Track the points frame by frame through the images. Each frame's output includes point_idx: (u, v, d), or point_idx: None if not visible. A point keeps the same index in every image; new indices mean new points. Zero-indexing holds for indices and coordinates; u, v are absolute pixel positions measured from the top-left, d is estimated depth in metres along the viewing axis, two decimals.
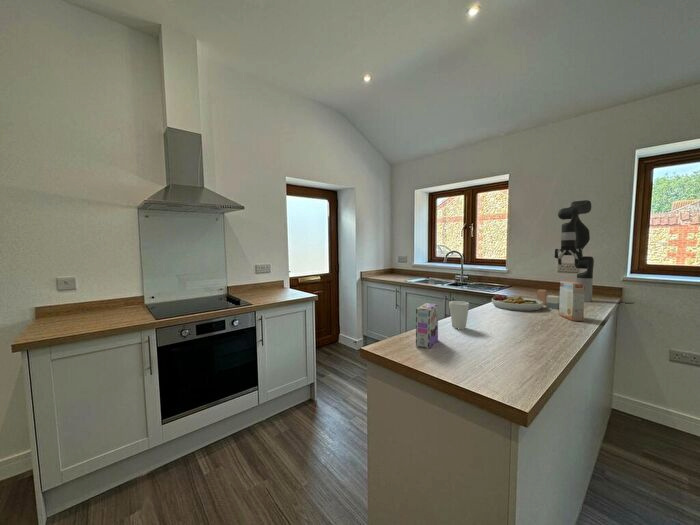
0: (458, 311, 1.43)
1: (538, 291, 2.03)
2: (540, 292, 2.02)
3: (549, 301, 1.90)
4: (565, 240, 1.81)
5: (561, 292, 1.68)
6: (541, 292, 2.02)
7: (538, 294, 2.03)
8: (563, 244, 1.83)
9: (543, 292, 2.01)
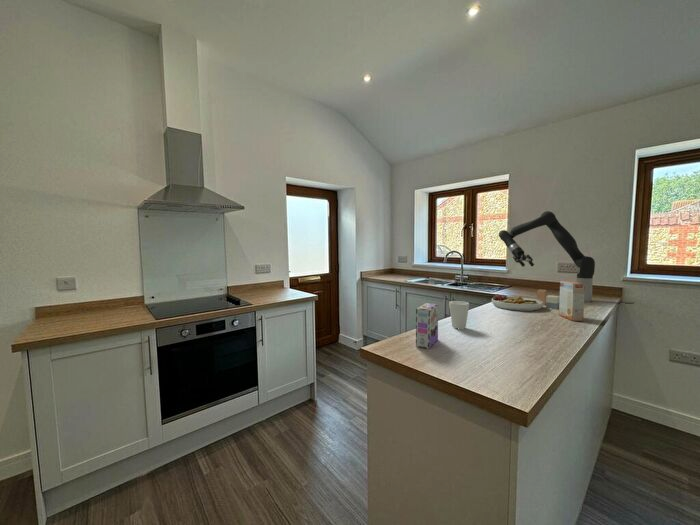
0: (458, 311, 1.43)
1: (538, 291, 2.03)
2: (540, 292, 2.02)
3: (549, 301, 1.90)
4: None
5: (561, 292, 1.68)
6: (541, 292, 2.02)
7: (538, 294, 2.03)
8: None
9: (543, 292, 2.01)
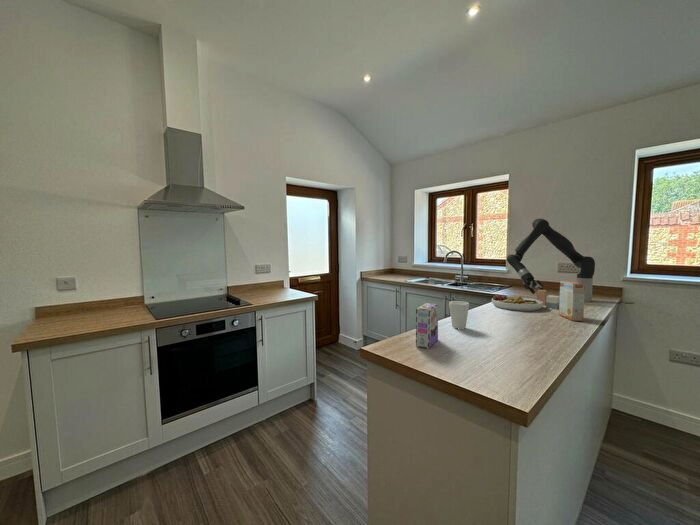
0: (458, 311, 1.43)
1: (538, 291, 2.03)
2: (540, 292, 2.02)
3: (549, 301, 1.90)
4: None
5: (561, 292, 1.68)
6: (541, 292, 2.02)
7: (538, 294, 2.03)
8: None
9: (543, 292, 2.01)
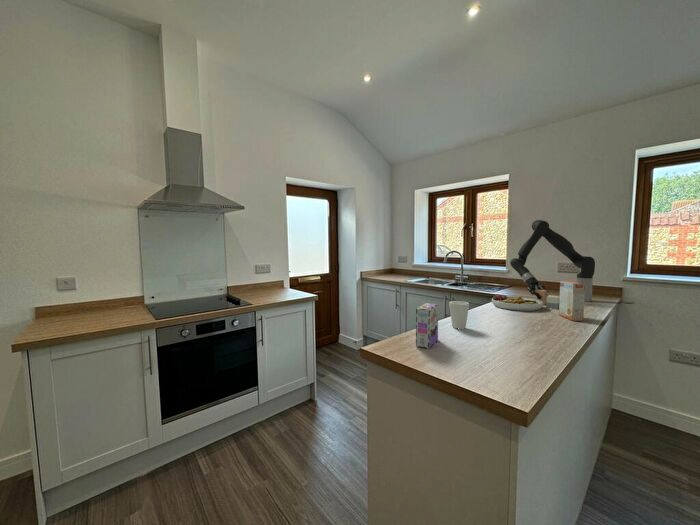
0: (458, 311, 1.43)
1: (538, 291, 2.03)
2: (540, 292, 2.02)
3: (549, 301, 1.90)
4: None
5: (561, 292, 1.68)
6: (541, 292, 2.02)
7: None
8: None
9: (543, 292, 2.01)
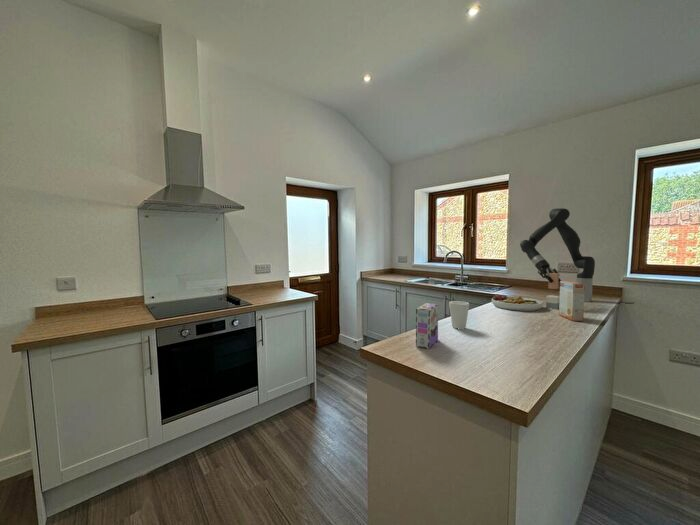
0: (458, 311, 1.43)
1: (550, 274, 1.90)
2: (552, 275, 1.89)
3: (549, 301, 1.90)
4: None
5: (561, 292, 1.68)
6: (553, 275, 1.88)
7: None
8: None
9: (555, 275, 1.87)
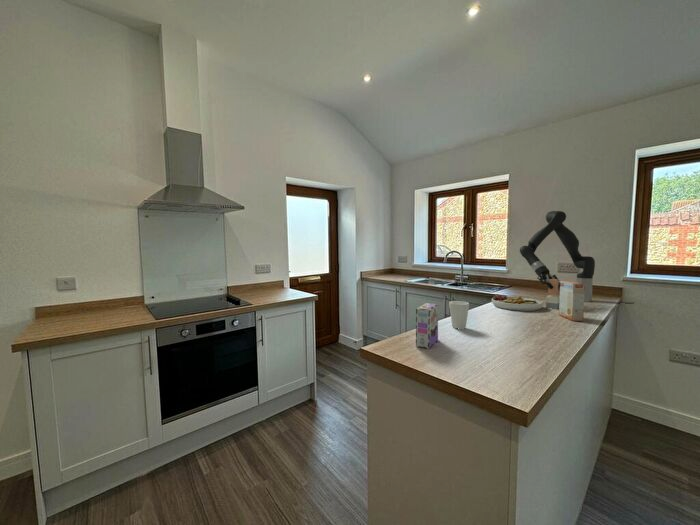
0: (458, 311, 1.43)
1: (549, 280, 1.90)
2: (552, 281, 1.89)
3: (549, 301, 1.90)
4: None
5: (561, 292, 1.68)
6: (553, 281, 1.88)
7: None
8: None
9: (555, 281, 1.88)
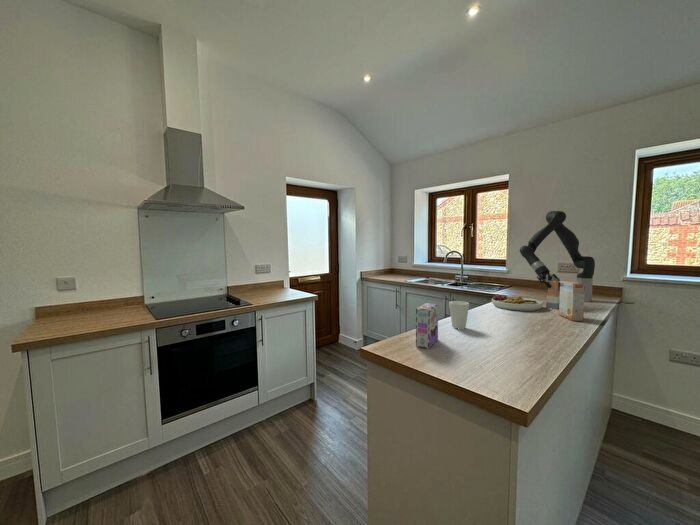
0: (458, 311, 1.43)
1: (549, 282, 1.90)
2: (551, 283, 1.89)
3: (549, 301, 1.90)
4: None
5: (561, 292, 1.68)
6: (552, 283, 1.89)
7: None
8: None
9: (554, 283, 1.88)
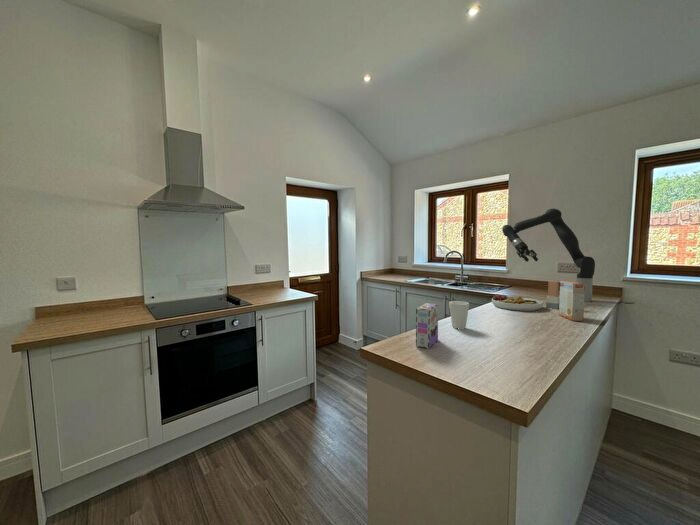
0: (458, 311, 1.43)
1: (549, 282, 1.90)
2: (551, 283, 1.89)
3: (549, 301, 1.90)
4: None
5: (561, 292, 1.68)
6: (552, 283, 1.89)
7: (549, 285, 1.90)
8: None
9: (555, 283, 1.88)
